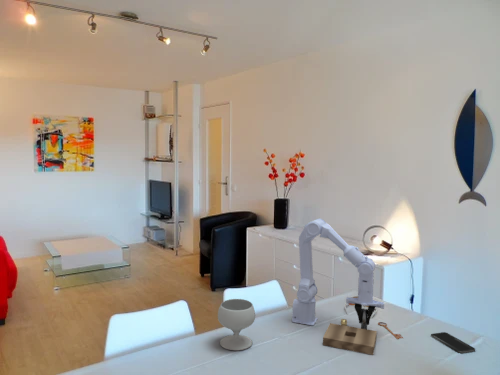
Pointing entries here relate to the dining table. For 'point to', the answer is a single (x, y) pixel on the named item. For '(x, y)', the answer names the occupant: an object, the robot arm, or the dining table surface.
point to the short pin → (344, 322)
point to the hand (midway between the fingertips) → (364, 323)
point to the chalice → (236, 322)
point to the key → (390, 331)
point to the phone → (453, 342)
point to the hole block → (350, 338)
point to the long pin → (364, 318)
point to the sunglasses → (354, 304)
